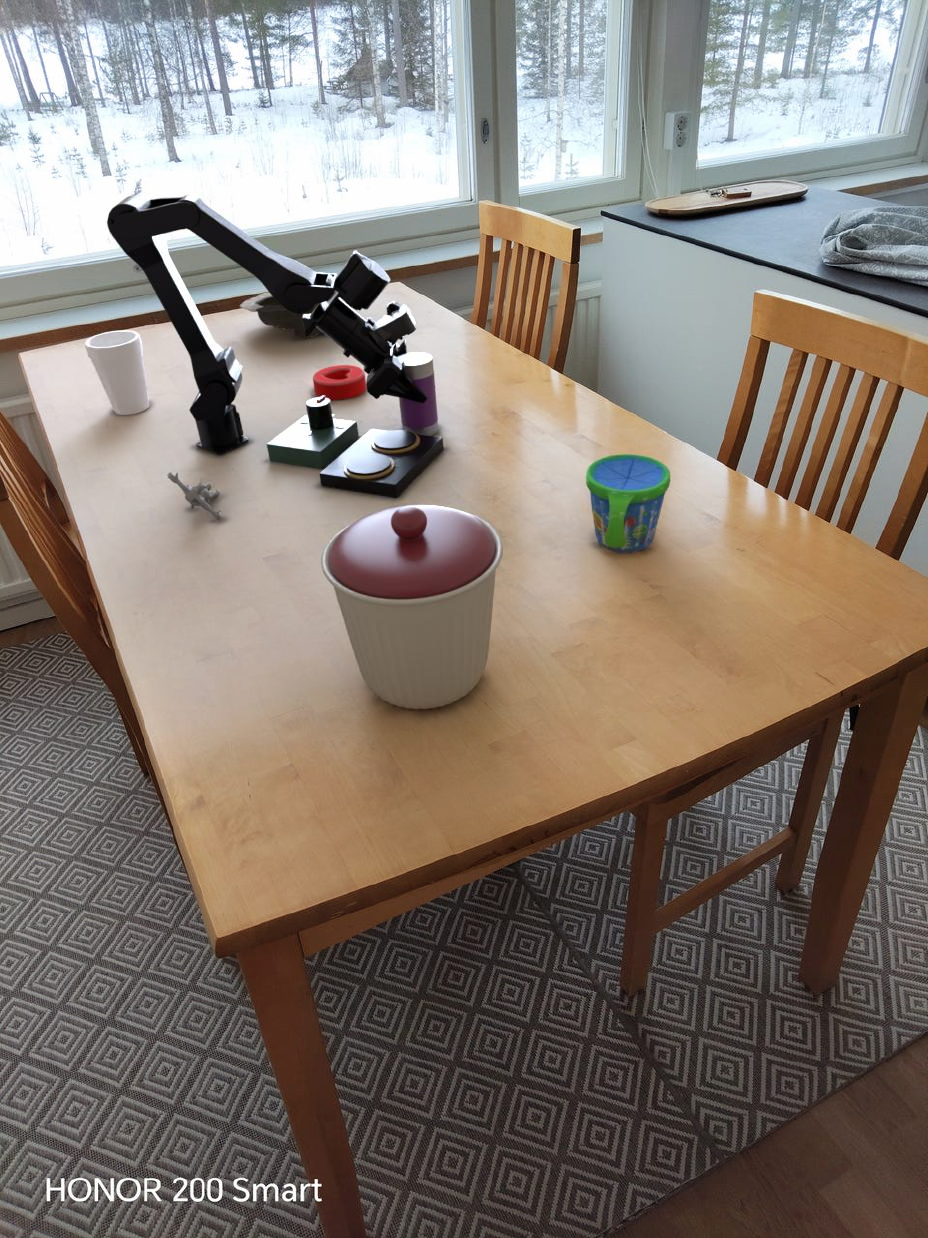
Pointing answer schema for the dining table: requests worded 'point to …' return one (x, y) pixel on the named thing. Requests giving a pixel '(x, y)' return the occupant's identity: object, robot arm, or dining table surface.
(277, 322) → the stone bowl
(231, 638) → the dining table surface
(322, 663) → the dining table surface
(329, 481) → the hob
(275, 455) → the control box
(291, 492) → the dining table surface
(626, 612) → the dining table surface
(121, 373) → the foam cup
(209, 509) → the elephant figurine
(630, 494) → the snack cup
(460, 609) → the canister
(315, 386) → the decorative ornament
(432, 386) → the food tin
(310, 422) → the hob knob
